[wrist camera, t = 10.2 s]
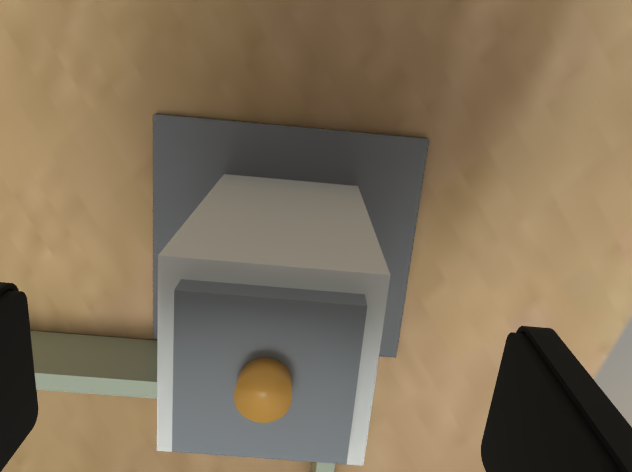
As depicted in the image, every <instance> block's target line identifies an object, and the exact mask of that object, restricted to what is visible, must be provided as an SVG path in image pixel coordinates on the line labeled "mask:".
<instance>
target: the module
mask: <svg viewBox="0 0 632 472" xmlns="http://www.w3.org/2000/svg"><path fill="white" fill-rule="evenodd" d="M389 282H390V272H389V269H388V267H387V264H386V261H385V258H384V256H383V253H382V250H381V248H380V245H379V242H378V239H377V237H376V234H375V231H374V228H373V226H372V223H371V220H370V217H369V215H368V212H367V209H366V206H365V204H364V201H363V198H362V196H361V193H360V190H359V187H358V186H353V185H341V184H330V183H319V182H308V181H296V180H285V179H274V178H263V177H252V176H240V175H229V174H224V175H223V176H222V177H221V178H220V180H219V181H218V182H217V183H216V185H215V186H214V187H213V188H212V189H211V191H210V192H209V193H208V194H207V196H206V197H205V198H204V199H203V201H202V202H201V203H200V204H199V205H198V207H197V208H196V209H195V210H194V212H193V213H192V214H191V215H190V217H189V218H188V219H187V220H186V221H185V223H184V224H183V225H182V226H181V228H180V229H179V230H178V231H177V232H176V234H175V235H174V236H173V237H172V239H171V240H170V241H169V242H168V244H167V245H166V246H165V247H164V248H163V250H162V251H161V252H160V253H159V255H158V330H157V451H170V452H182V453H196V454H209V455H223V456H237V457H250V458H264V459H278V460H292V461H305V462H319V463H333V464H348V465H362V466H363V465H364V458H365V451H366V444H367V437H368V430H369V423H370V415H371V408H372V401H373V394H374V387H375V380H376V373H377V366H378V359H379V352H380V345H381V338H382V331H383V324H384V317H385V310H386V303H387V296H388V289H389Z"/></svg>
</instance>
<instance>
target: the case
mask: <svg viewBox="0 0 632 472" xmlns="http://www.w3.org/2000/svg"><path fill="white" fill-rule="evenodd" d="M30 333H31V343H32V353H33V362H34V372H35V382H36V390H48V391H61V392H75V393H88V394H101V395H115V396H128V397H142V398H155V399H157V340H144V339H131V338H118V337H105V336H92V335H80V334H67V333H54V332H41V331H30ZM334 468H335V464H333V463H319V462H311V472H334Z"/></svg>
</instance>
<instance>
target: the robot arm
mask: <svg viewBox="0 0 632 472" xmlns="http://www.w3.org/2000/svg"><path fill="white" fill-rule="evenodd" d="M37 415H38V401H37V392H36V382H35V372H34V362H33V353H32V343H31V333H30V323H29V314H28V304H27V297H26V295H25V293H24V292H21V291H19V290H18V288H17V286H16V285H15V284H13V283H2V282H0V472H1V471H2V469H3V468H4V467H5V465H6V464H7V463H8V461H9V460H10V458H11V457H12V456H13V454H14V453H15V452H16V450H17V449H18V448H19V446H20V445H21V443H22V442H23V441H24V439H25V438H26V437H27V435H28V434H29V433H30V431H31V430H32V428H33V427H34V425H35V422H36V419H37ZM481 457H482V462H483V465H484V468H485V470H486V472H632V427H631V426H630V425H629V424H628V422H627V421H626V420H625V419H624V417H623V416H622V415H621V414H620V412H619V411H618V410H617V409H616V407H615V406H614V405H613V404H612V402H611V401H610V400H609V399H608V397H607V396H606V395H605V394H604V392H603V391H602V390H601V389H600V387H599V386H598V385H597V384H596V382H595V381H594V380H593V379H592V377H591V376H590V375H589V374H588V372H587V371H586V370H585V369H584V367H583V366H582V365H581V364H580V362H579V361H578V360H577V359H576V357H575V356H574V355H573V354H572V352H571V351H570V350H569V349H568V347H567V346H566V345H565V344H564V342H563V341H562V340H561V339H560V337H559V336H558V335H557V334H556V332H555V331H554V330H553V329H551V328H540V327H528V326H521V327H519V328H518V330H517V332H516V333H512V332H511V333H510V334H509V335H508V337H507V340H506V344H505V348H504V352H503V356H502V360H501V364H500V369H499V373H498V377H497V381H496V385H495V389H494V393H493V398H492V402H491V406H490V410H489V414H488V418H487V423H486V427H485V431H484V435H483V439H482V444H481Z"/></svg>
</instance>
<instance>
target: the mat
mask: <svg viewBox="0 0 632 472" xmlns="http://www.w3.org/2000/svg"><path fill="white" fill-rule="evenodd" d="M428 143H429V139H427V138H419V137H408V136H397V135H386V134H375V133H364V132H353V131H342V130H331V129H320V128H309V127H298V126H287V125H276V124H265V123H254V122H243V121H232V120H221V119H210V118H199V117H188V116H177V115H166V114H153V339H157V330H158V255H159V253H160V252H161V251H162V250H163V248H164V247H165V246H166V245H167V244H168V242H169V241H170V240H171V239H172V237H173V236H174V235H175V234H176V232H177V231H178V230H179V229H180V228H181V226H182V225H183V224H184V223H185V221H186V220H187V219H188V218H189V217H190V215H191V214H192V213H193V212H194V210H195V209H196V208H197V207H198V205H199V204H200V203H201V202H202V201H203V199H204V198H205V197H206V196H207V194H208V193H209V192H210V191H211V189H212V188H213V187H214V186H215V185H216V183H217V182H218V181H219V180H220V178H221V177H222V176H223V175H224V174H229V175H240V176H252V177H263V178H274V179H285V180H296V181H308V182H319V183H330V184H341V185H353V186H358V187H359V190H360V193H361V196H362V198H363V201H364V204H365V206H366V209H367V212H368V215H369V217H370V220H371V223H372V226H373V228H374V231H375V234H376V237H377V239H378V242H379V245H380V248H381V250H382V253H383V256H384V258H385V261H386V264H387V267H388V269H389V272H390V282H389V289H388V296H387V303H386V310H385V317H384V324H383V331H382V338H381V345H380V352H379V356H382V357H395V358H396V354H397V348H398V341H399V334H400V328H401V321H402V315H403V308H404V302H405V295H406V288H407V282H408V275H409V269H410V262H411V255H412V249H413V242H414V236H415V229H416V222H417V216H418V209H419V203H420V196H421V189H422V183H423V176H424V170H425V163H426V157H427V150H428Z"/></svg>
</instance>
